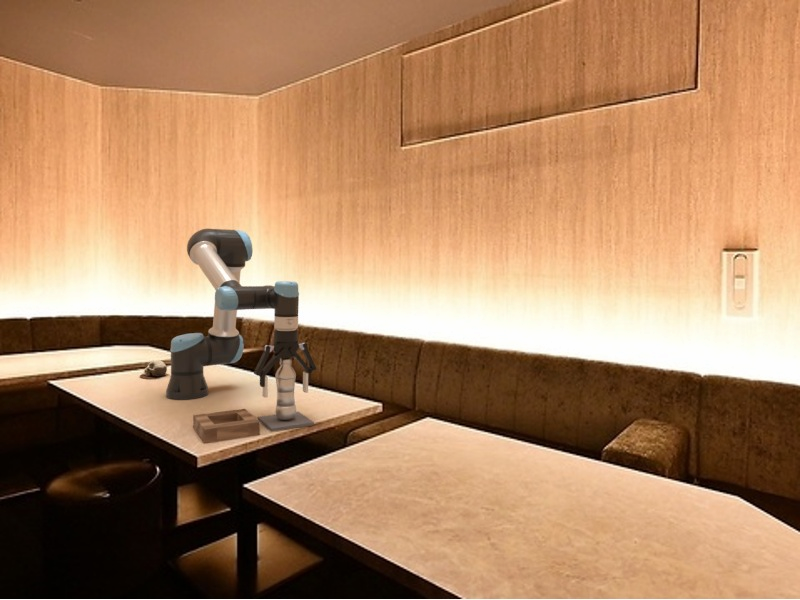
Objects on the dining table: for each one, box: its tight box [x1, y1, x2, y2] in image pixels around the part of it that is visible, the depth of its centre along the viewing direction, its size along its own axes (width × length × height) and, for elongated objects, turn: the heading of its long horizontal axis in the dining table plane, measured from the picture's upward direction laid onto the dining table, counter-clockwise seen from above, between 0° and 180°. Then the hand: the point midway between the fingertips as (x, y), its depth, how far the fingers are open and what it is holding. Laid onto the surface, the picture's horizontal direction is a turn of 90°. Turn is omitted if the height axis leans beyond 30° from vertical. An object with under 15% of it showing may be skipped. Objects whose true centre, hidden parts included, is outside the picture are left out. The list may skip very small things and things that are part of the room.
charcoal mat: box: [257, 410, 315, 432], centre depth 173 cm, size 14×14×1 cm
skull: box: [139, 359, 171, 380], centre depth 236 cm, size 12×10×10 cm
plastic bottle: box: [274, 357, 297, 420], centre depth 173 cm, size 6×7×20 cm
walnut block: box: [192, 408, 261, 444], centre depth 163 cm, size 16×16×4 cm
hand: (285, 394), depth 173 cm, fingers open, 13 cm apart
